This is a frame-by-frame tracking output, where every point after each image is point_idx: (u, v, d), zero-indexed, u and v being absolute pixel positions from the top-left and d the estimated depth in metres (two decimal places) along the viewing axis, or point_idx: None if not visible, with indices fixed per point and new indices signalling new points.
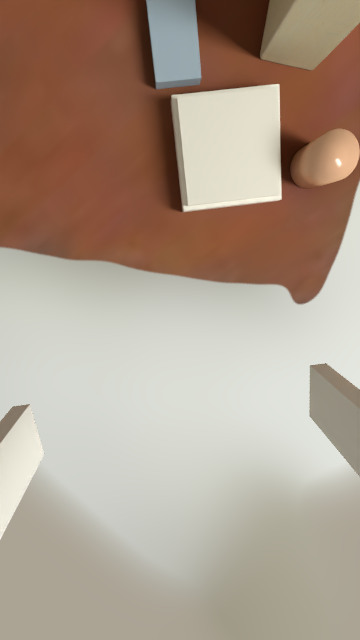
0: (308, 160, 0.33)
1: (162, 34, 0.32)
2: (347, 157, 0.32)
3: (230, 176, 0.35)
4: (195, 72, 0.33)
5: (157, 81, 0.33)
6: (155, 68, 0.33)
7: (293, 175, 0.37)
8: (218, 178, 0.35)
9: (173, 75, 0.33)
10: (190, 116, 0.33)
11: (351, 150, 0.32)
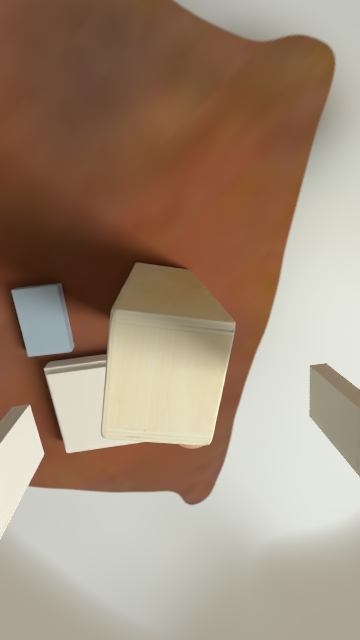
0: None
1: (30, 321, 0.34)
2: None
3: None
4: (65, 348, 0.36)
5: (29, 355, 0.36)
6: (26, 346, 0.35)
7: None
8: (93, 431, 0.38)
9: (44, 351, 0.36)
10: (61, 388, 0.36)
11: None
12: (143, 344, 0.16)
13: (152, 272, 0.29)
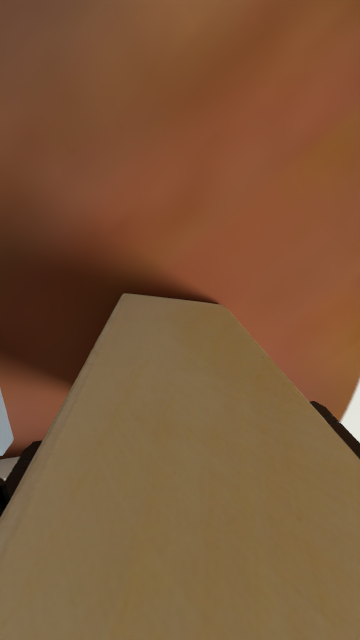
0: None
1: None
2: None
3: None
4: None
5: None
6: None
7: None
8: None
9: None
10: None
11: None
12: None
13: (152, 329, 0.13)
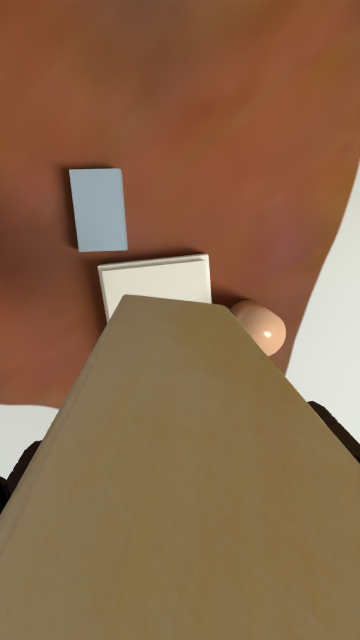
0: None
1: (86, 209, 0.31)
2: (273, 337, 0.32)
3: None
4: (120, 245, 0.32)
5: (80, 250, 0.32)
6: (78, 239, 0.32)
7: None
8: None
9: (97, 246, 0.32)
10: (116, 288, 0.32)
11: (277, 330, 0.32)
12: None
13: (153, 330, 0.13)
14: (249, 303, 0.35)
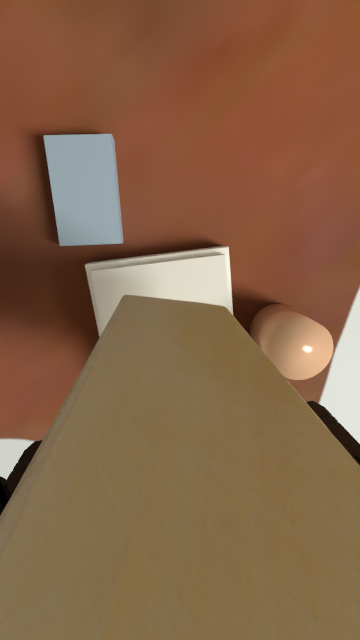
0: (267, 350, 0.25)
1: (68, 190, 0.24)
2: (317, 353, 0.24)
3: None
4: (113, 236, 0.25)
5: (61, 244, 0.25)
6: (58, 229, 0.24)
7: None
8: None
9: (83, 238, 0.25)
10: (109, 293, 0.25)
11: (322, 345, 0.24)
12: None
13: (152, 330, 0.13)
14: (280, 308, 0.27)
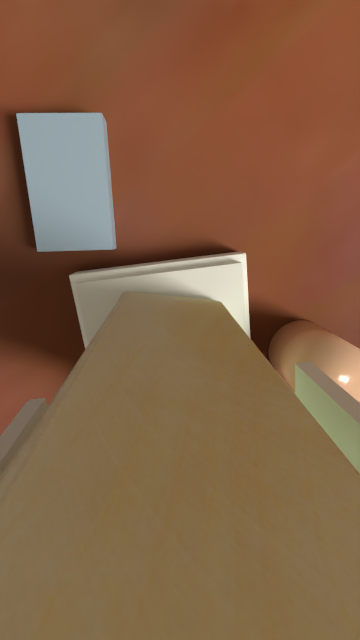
0: (293, 380, 0.20)
1: (47, 182, 0.19)
2: (356, 385, 0.19)
3: None
4: (103, 241, 0.20)
5: (39, 250, 0.20)
6: (36, 231, 0.20)
7: (273, 365, 0.25)
8: None
9: (66, 243, 0.20)
10: (99, 310, 0.20)
11: None
12: None
13: (149, 321, 0.14)
14: (307, 327, 0.23)
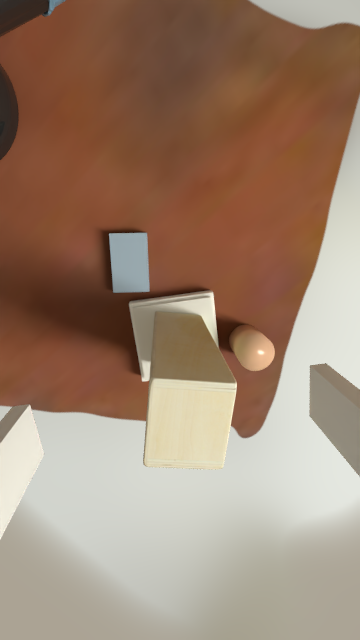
0: (236, 353, 0.42)
1: (120, 262, 0.41)
2: (265, 354, 0.41)
3: None
4: (144, 287, 0.42)
5: (114, 292, 0.42)
6: (113, 283, 0.42)
7: (231, 348, 0.46)
8: None
9: (127, 288, 0.42)
10: (143, 320, 0.42)
11: (268, 349, 0.41)
12: (172, 401, 0.22)
13: (170, 325, 0.36)
14: (246, 328, 0.44)
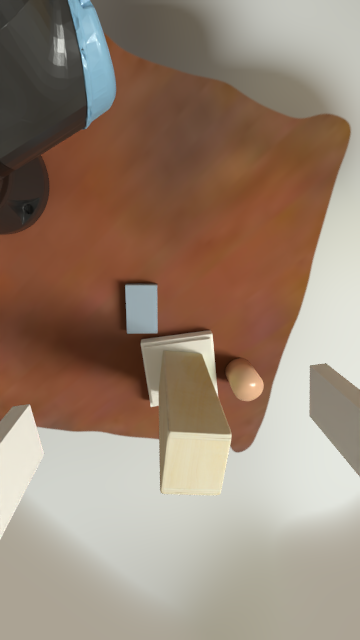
0: (231, 385, 0.50)
1: (134, 308, 0.49)
2: (255, 388, 0.49)
3: None
4: (153, 330, 0.50)
5: (128, 333, 0.50)
6: (127, 326, 0.49)
7: None
8: None
9: (139, 330, 0.50)
10: (153, 357, 0.50)
11: (258, 384, 0.49)
12: (183, 447, 0.30)
13: (177, 368, 0.43)
14: (240, 362, 0.52)
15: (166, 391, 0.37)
